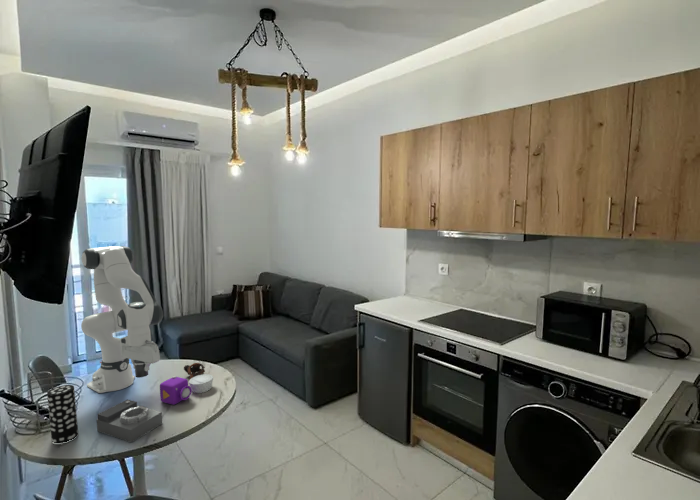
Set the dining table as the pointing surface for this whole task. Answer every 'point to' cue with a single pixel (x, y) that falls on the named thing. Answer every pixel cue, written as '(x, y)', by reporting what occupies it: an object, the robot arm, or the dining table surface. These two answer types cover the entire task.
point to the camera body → (128, 420)
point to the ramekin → (201, 383)
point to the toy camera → (174, 390)
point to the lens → (140, 369)
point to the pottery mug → (194, 369)
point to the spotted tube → (62, 413)
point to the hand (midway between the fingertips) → (141, 369)
